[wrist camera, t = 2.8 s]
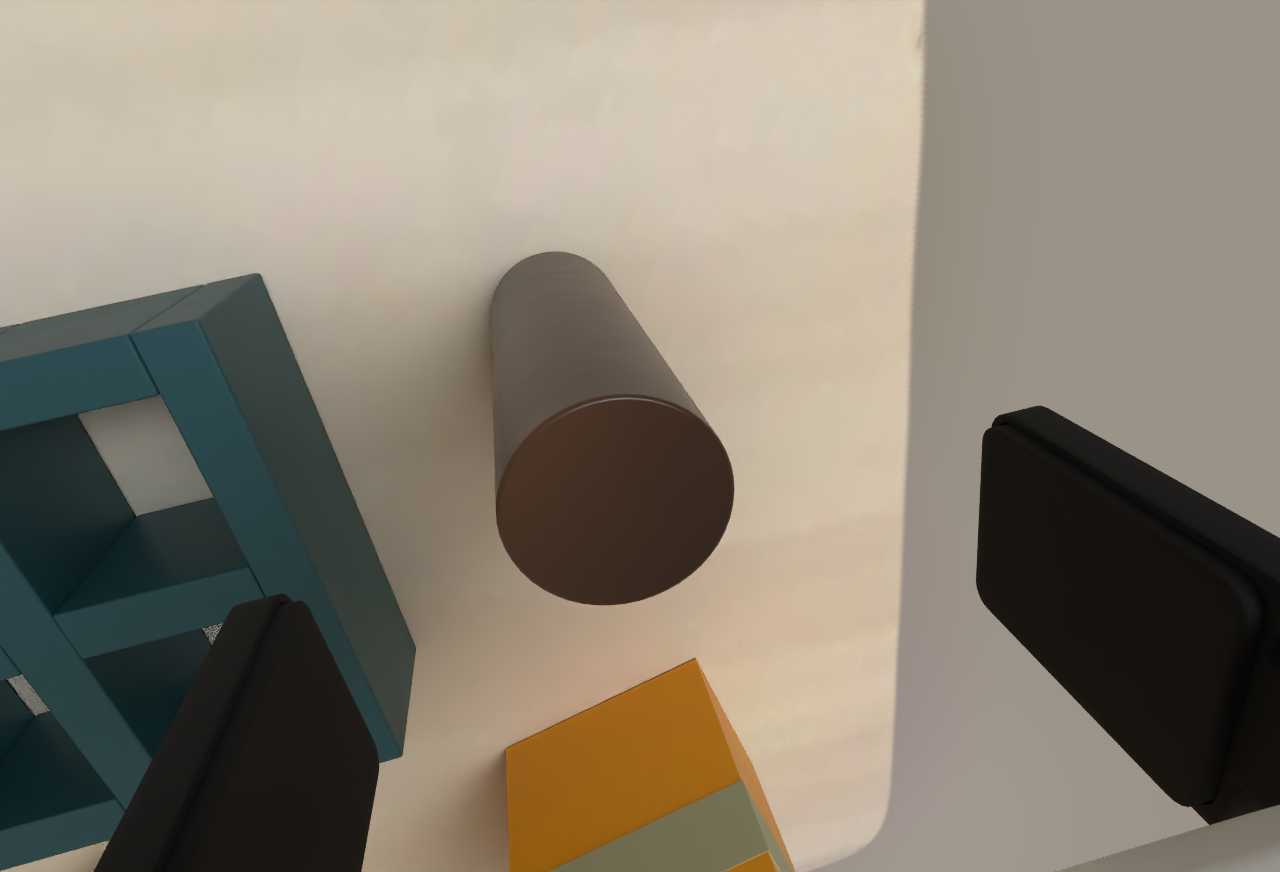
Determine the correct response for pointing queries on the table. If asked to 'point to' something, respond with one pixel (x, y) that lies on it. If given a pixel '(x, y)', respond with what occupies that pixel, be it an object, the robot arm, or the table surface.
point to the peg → (596, 442)
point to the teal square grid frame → (163, 548)
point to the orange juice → (641, 788)
